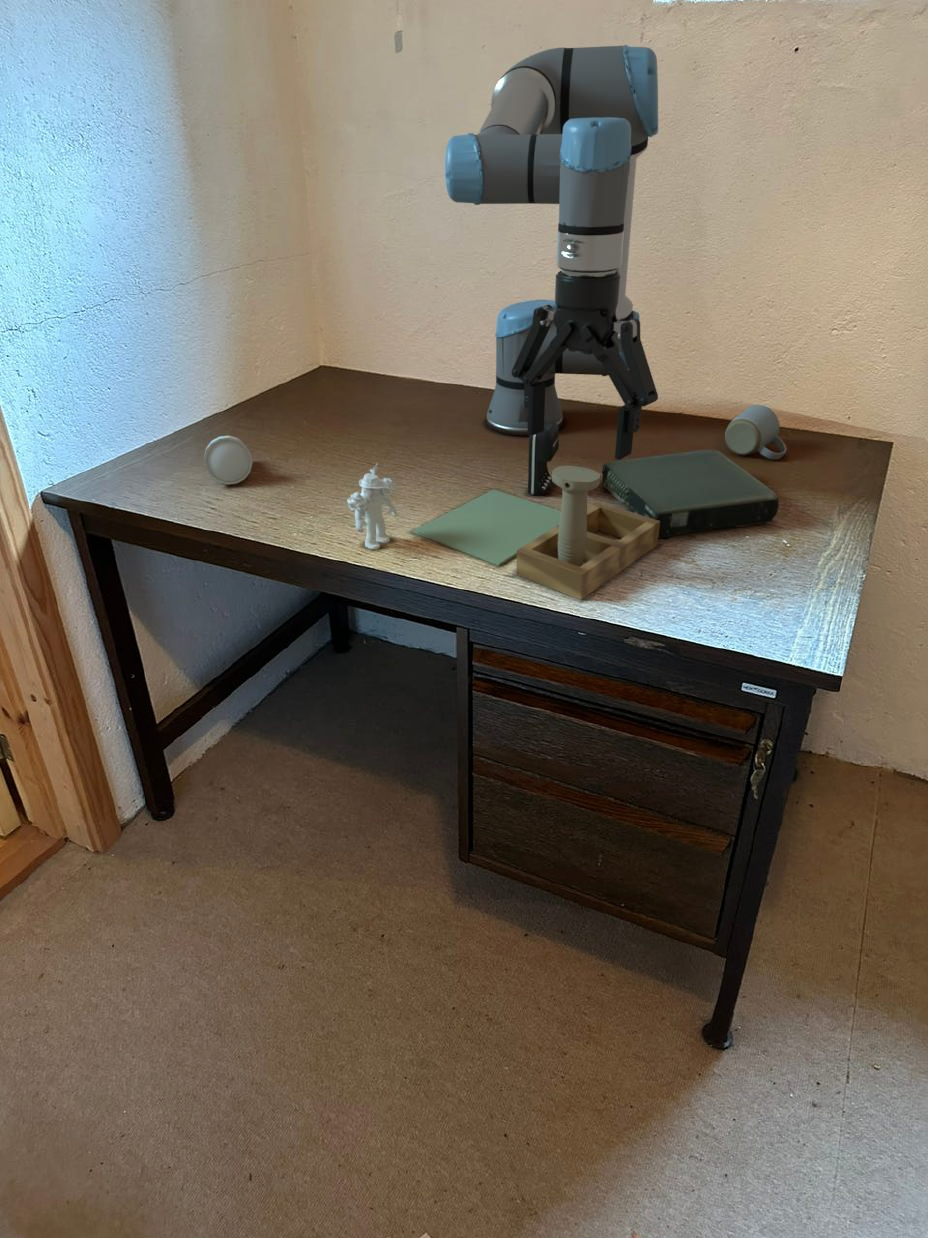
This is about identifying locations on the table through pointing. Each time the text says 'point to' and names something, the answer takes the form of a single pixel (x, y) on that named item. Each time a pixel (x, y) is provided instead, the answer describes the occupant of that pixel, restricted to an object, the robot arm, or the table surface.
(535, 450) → the battery charger
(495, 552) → the mat
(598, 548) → the rack
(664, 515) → the network switch
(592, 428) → the table surface
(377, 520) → the flower shoulder figurine
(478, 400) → the table surface
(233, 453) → the spotlight
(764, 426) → the ceramic mug
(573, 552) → the handle
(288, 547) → the table surface
